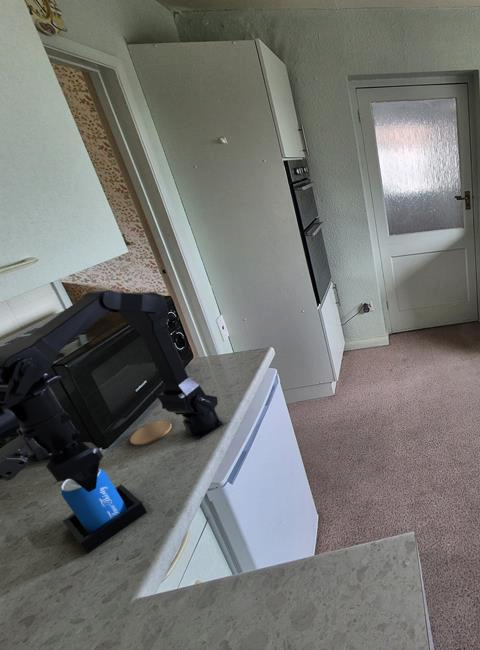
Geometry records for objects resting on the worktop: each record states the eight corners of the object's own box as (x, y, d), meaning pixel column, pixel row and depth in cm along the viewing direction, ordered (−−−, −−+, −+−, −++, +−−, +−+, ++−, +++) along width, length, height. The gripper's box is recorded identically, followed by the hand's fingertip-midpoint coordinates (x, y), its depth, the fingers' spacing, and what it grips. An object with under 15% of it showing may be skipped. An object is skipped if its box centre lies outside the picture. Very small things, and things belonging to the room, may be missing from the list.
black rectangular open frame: (127, 493, 83) (121, 484, 82) (147, 512, 79) (141, 502, 77) (69, 530, 76) (62, 520, 75) (87, 553, 71) (80, 543, 70)
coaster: (162, 418, 107) (161, 416, 107) (178, 427, 103) (177, 426, 103) (124, 438, 101) (123, 437, 100) (139, 450, 96) (138, 448, 96)
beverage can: (105, 538, 74) (75, 494, 69) (79, 534, 75) (48, 490, 70) (136, 509, 79) (111, 466, 75) (112, 505, 81) (85, 463, 76)
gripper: (-41, 428, 65) (10, 493, 71) (-14, 467, 56) (41, 538, 62) (47, 392, 73) (85, 453, 80) (82, 420, 64) (122, 487, 71)
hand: (83, 480), depth 73 cm, fingers open, 9 cm apart
